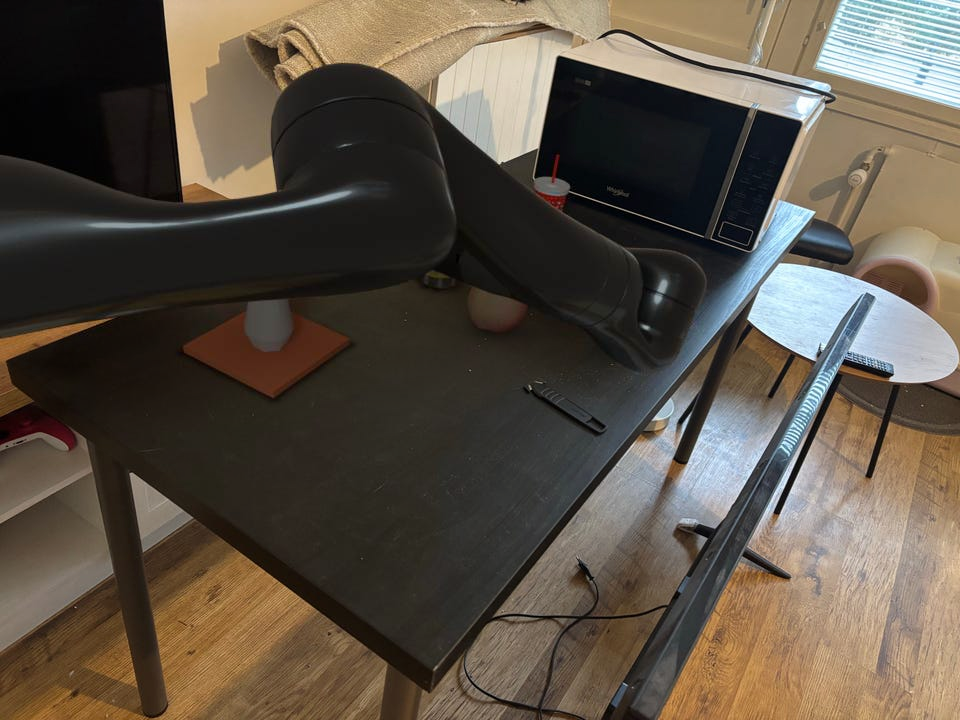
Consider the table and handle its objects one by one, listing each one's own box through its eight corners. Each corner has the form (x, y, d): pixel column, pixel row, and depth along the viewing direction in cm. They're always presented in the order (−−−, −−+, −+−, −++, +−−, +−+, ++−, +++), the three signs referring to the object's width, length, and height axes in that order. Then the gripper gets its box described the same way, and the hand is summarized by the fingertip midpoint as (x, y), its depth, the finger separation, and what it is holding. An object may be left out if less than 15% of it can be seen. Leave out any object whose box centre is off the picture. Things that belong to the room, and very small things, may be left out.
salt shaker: (236, 338, 90) (228, 243, 83) (276, 324, 94) (273, 232, 87) (262, 361, 87) (257, 265, 80) (303, 346, 91) (302, 252, 84)
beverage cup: (525, 222, 131) (539, 146, 123) (559, 227, 132) (575, 151, 124) (525, 237, 126) (540, 159, 118) (560, 242, 127) (577, 164, 119)
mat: (273, 398, 84) (272, 391, 83) (183, 352, 89) (182, 345, 88) (349, 344, 94) (349, 338, 94) (265, 305, 99) (265, 299, 98)
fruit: (485, 305, 106) (492, 256, 102) (532, 327, 103) (542, 277, 99) (453, 327, 101) (460, 276, 96) (502, 351, 98) (512, 299, 93)
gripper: (525, 188, 72) (388, 141, 77) (449, 236, 61) (296, 178, 66) (513, 256, 76) (384, 207, 81) (440, 312, 65) (297, 252, 71)
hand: (345, 194), depth 74 cm, fingers open, 8 cm apart
